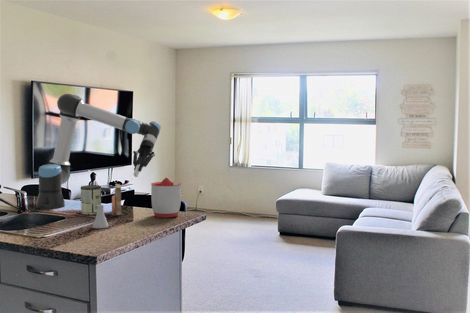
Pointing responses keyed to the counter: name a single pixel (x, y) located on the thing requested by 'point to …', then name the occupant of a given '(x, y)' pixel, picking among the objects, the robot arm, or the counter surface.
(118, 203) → the brown beige flat square
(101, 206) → the flask
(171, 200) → the citrus juicer
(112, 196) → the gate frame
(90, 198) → the coffee can
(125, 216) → the counter surface
